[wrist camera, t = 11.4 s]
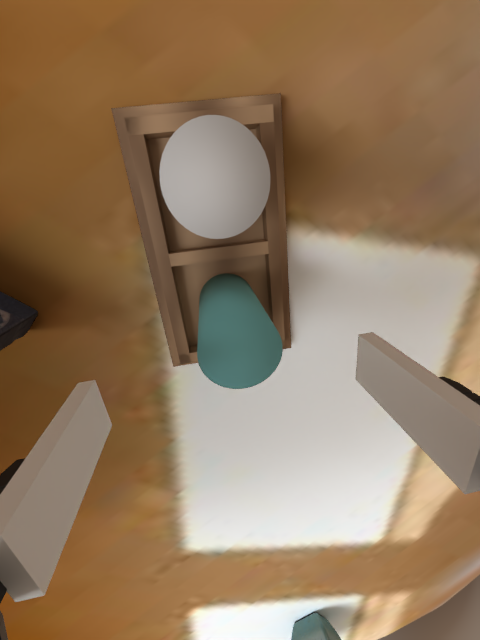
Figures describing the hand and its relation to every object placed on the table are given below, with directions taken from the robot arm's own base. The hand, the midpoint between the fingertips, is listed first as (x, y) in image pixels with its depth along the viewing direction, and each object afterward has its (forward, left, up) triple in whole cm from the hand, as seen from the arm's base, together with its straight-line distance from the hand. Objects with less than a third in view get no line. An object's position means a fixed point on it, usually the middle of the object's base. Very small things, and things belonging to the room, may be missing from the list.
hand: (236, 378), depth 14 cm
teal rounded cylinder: (+1, 0, -12) cm, 12 cm away
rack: (0, +5, -13) cm, 14 cm away
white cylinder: (0, +9, -12) cm, 15 cm away
